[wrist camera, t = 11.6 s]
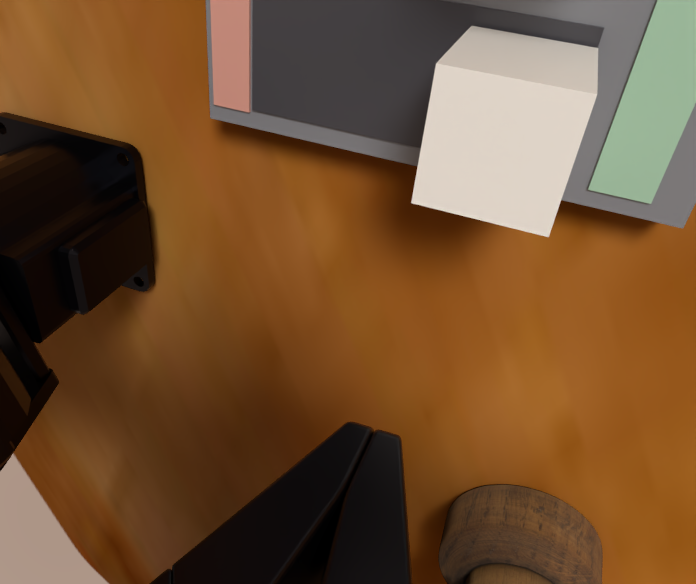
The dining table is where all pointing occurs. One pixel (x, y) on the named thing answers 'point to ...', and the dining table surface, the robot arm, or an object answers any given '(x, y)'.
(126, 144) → the robot arm
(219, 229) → the dining table surface
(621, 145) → the breaker panel
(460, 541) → the brown statuette
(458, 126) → the white block
